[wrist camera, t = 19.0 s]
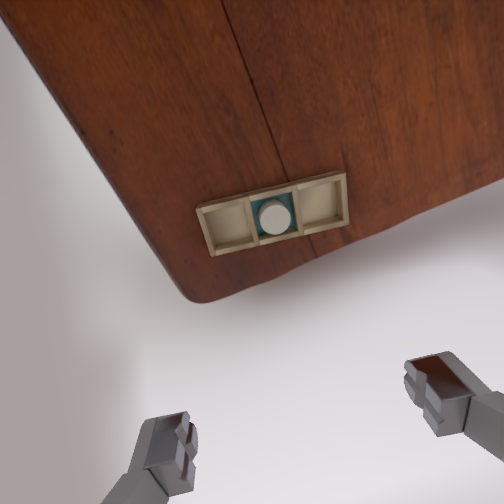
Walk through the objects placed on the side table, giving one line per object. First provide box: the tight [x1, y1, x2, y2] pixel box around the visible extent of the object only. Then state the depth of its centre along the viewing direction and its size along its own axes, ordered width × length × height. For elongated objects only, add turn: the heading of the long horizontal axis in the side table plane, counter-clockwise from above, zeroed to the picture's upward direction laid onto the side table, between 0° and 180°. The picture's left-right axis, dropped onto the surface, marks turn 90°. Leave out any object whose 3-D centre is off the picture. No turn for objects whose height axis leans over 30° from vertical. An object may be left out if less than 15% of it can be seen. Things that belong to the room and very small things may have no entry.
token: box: [258, 199, 291, 235], centre depth 31 cm, size 4×4×3 cm
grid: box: [196, 170, 349, 257], centre depth 32 cm, size 18×6×2 cm, turn 103°
